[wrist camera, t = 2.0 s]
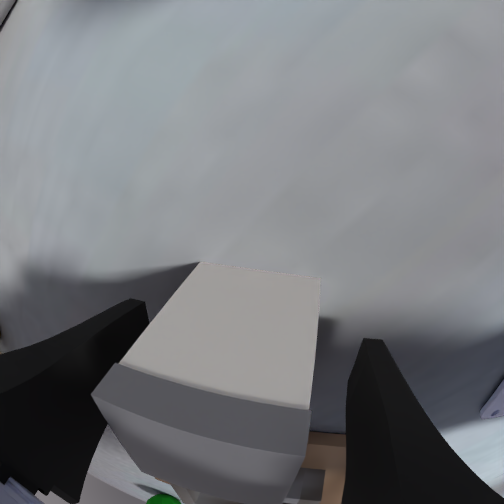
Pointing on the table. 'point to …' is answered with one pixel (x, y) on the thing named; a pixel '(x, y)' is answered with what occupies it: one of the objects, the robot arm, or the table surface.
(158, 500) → the polyhedron
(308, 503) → the socket
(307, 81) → the table surface
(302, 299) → the plug
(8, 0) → the cylinder vase
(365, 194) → the table surface
